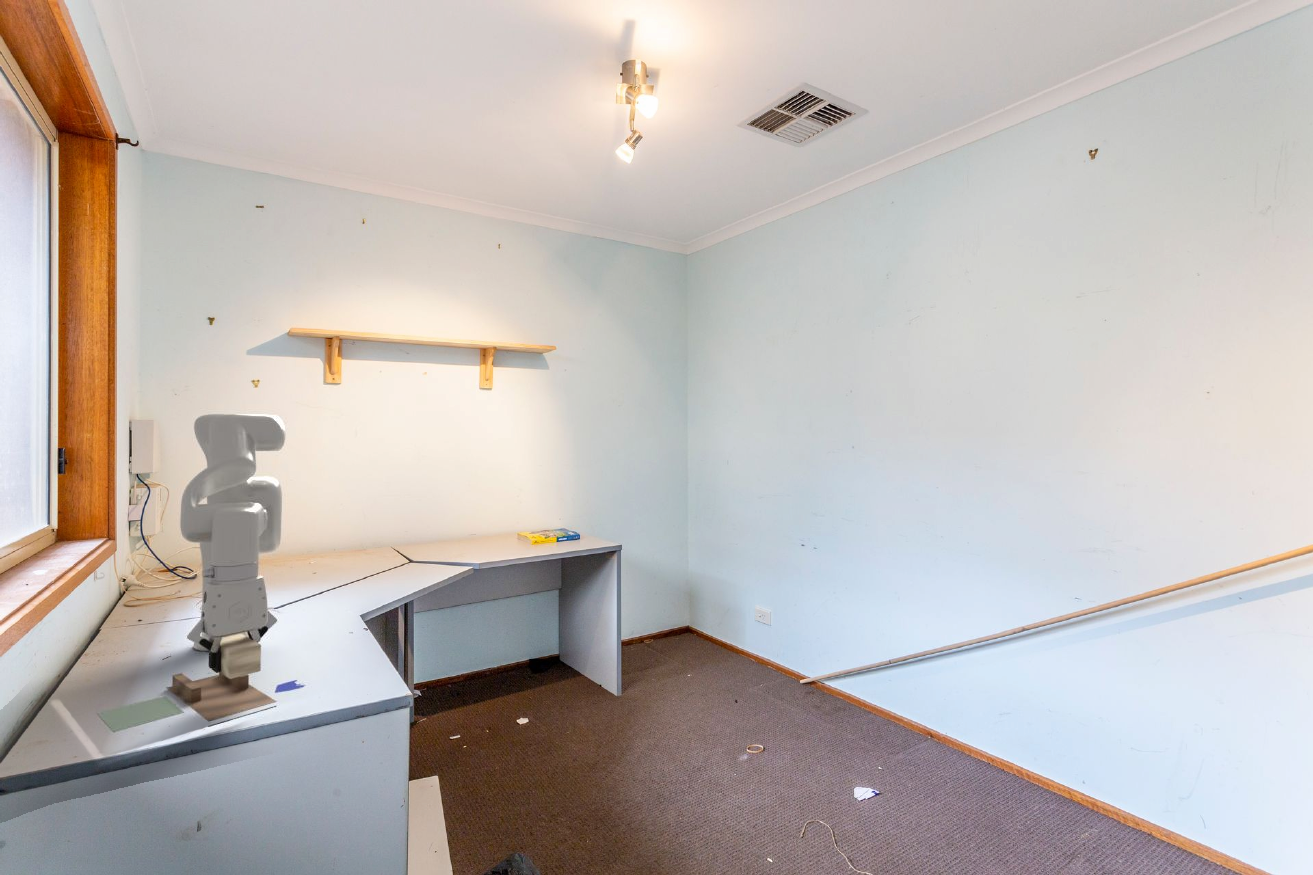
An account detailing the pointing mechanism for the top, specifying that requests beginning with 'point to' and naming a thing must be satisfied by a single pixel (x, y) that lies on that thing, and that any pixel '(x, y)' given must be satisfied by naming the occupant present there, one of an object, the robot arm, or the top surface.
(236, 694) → the holder
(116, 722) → the mat
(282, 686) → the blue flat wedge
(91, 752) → the top surface
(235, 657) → the block
